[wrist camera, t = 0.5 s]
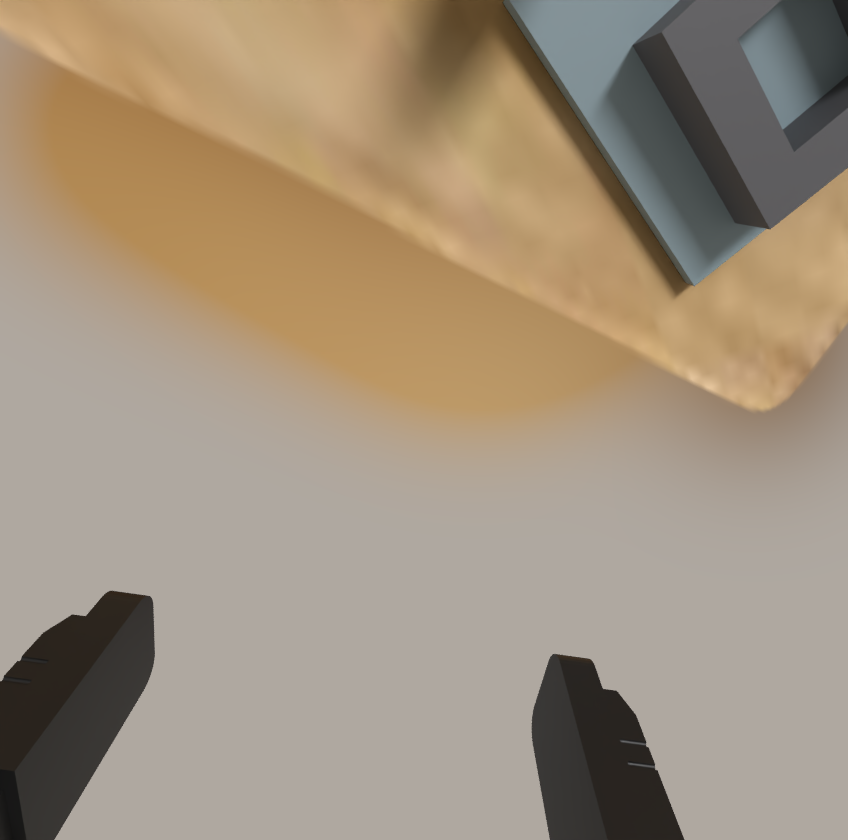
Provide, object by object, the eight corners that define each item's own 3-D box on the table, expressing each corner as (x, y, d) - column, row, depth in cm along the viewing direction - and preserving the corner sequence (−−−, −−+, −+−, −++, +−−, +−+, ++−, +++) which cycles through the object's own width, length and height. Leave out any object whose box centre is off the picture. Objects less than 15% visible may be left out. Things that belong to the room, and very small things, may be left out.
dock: (502, 2, 26) (523, -23, 23) (848, -355, 22) (940, -454, 19) (685, 282, 33) (724, 297, 29) (978, 48, 29) (1064, 31, 25)
